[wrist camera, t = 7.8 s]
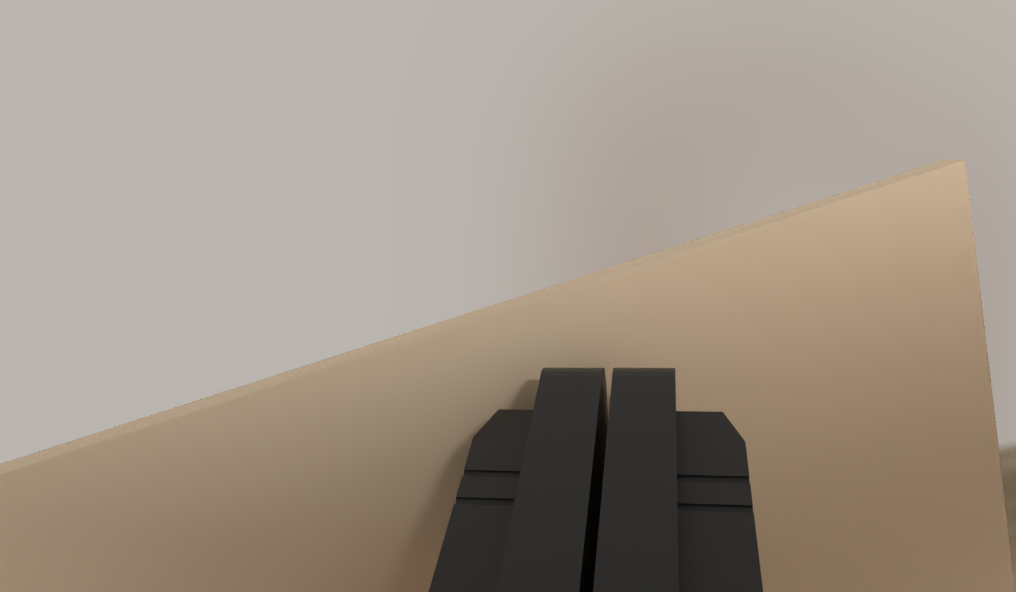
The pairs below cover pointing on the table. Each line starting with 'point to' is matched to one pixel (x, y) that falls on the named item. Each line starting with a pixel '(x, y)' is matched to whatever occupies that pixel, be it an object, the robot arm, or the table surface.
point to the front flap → (608, 344)
